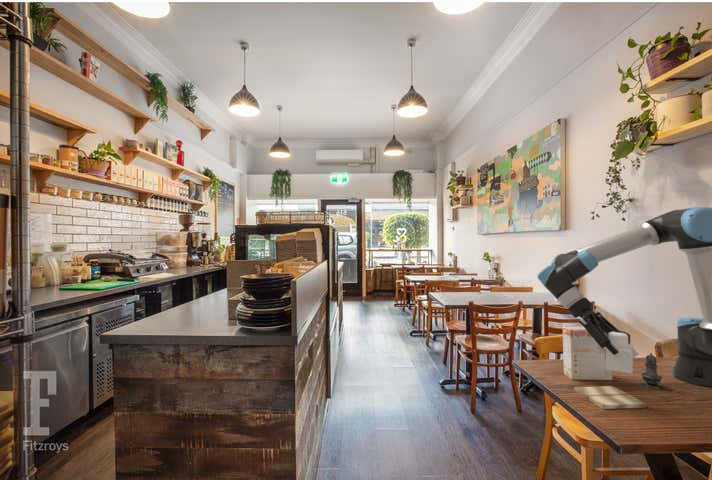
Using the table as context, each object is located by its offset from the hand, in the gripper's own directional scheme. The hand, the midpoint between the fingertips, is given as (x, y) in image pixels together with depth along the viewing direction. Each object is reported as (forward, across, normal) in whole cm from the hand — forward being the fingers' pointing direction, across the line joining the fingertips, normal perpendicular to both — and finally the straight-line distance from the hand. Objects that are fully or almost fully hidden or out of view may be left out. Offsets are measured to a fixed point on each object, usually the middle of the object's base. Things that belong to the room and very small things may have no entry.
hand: (631, 359), depth 115 cm
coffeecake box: (-2, -17, -24) cm, 29 cm away
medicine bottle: (0, 0, -5) cm, 5 cm away
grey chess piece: (+10, -24, -11) cm, 29 cm away
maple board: (+6, -1, -15) cm, 16 cm away
